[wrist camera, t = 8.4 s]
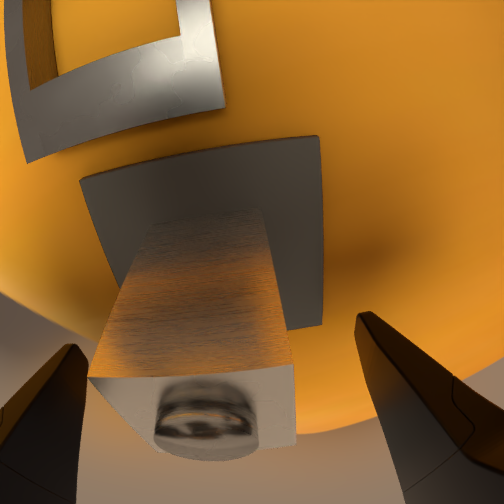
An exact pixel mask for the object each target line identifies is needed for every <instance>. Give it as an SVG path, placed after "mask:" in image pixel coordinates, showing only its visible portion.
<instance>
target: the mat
mask: <svg viewBox="0 0 504 504" xmlns="http://www.w3.org/2000/svg"><path fill="white" fill-rule="evenodd" d="M79 182H80V185H81V188H82V192H83V195H84V198H85V201H86V204H87V207H88V210H89V212H90V215H91V218H92V221H93V224H94V226H95V229H96V232H97V235H98V237H99V240H100V242H101V245H102V248H103V250H104V253H105V255H106V257H107V260H108V262H109V265H110V267H111V269H112V272H113V274H114V276H115V279H116V281H117V283H118V286H119V288H120V289H121V287H122V285H123V282H124V280H125V278H126V276H127V274H128V271H129V269H130V267H131V265H132V263H133V260H134V258H135V256H136V254H137V252H138V250H139V248H140V246H141V244H142V242H143V240H144V238H145V235H146V233H147V231H148V229H149V227H150V225H151V224H154V223H160V222H166V221H172V220H177V219H183V218H189V217H195V216H202V215H208V214H214V213H221V212H227V211H234V210H241V209H248V208H255V207H261V211H262V216H263V220H264V225H265V229H266V234H267V238H268V243H269V248H270V252H271V257H272V262H273V267H274V271H275V276H276V281H277V286H278V290H279V295H280V300H281V305H282V310H283V315H284V320H285V324H286V329H287V330H294V329H300V328H306V327H312V326H318V325H322V312H323V200H322V175H321V156H320V140H319V137H318V136H317V135H312V136H300V137H290V138H280V139H271V140H263V141H255V142H248V143H240V144H234V145H227V146H221V147H215V148H209V149H203V150H197V151H192V152H187V153H181V154H176V155H172V156H167V157H162V158H157V159H153V160H148V161H144V162H140V163H136V164H131V165H127V166H123V167H119V168H116V169H112V170H108V171H104V172H101V173H97V174H94V175H90V176H87V177H83V178H82V179H81V180H79Z"/></svg>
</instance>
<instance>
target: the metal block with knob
mask: <svg viewBox="0 0 504 504" xmlns="http://www.w3.org/2000/svg"><path fill="white" fill-rule="evenodd" d="M87 378H88V379H89V380H90V381H91V383H92V384H93V385H94V386H95V387H96V389H97V390H98V391H99V392H100V393H101V395H102V396H103V397H104V398H105V399H106V400H107V402H108V403H109V404H110V405H111V406H112V407H113V408H114V409H115V410H116V411H117V412H118V414H119V415H120V416H121V417H122V418H123V419H124V420H125V421H126V422H127V423H128V424H129V425H130V426H131V427H132V428H133V429H134V430H135V431H136V432H137V433H138V434H139V435H140V436H141V437H142V438H143V439H144V440H145V441H146V442H147V443H148V444H149V445H150V446H151V447H152V448H153V449H154V450H156V451H157V452H160V453H171V454H173V455H176V456H180V457H183V458H187V459H193V460H201V461H225V460H232V459H238V458H241V457H245V456H247V455H249V454H251V453H253V452H254V451H256V450H260V449H270V448H278V447H285V446H292V445H296V412H295V387H294V366H293V360H292V354H291V349H290V344H289V339H288V334H287V329H286V324H285V320H284V315H283V310H282V305H281V300H280V295H279V290H278V286H277V281H276V276H275V271H274V267H273V262H272V257H271V252H270V248H269V243H268V238H267V234H266V229H265V225H264V220H263V216H262V211H261V207H255V208H248V209H241V210H234V211H227V212H221V213H214V214H208V215H202V216H195V217H189V218H183V219H177V220H172V221H166V222H160V223H154V224H151V225H150V227H149V229H148V231H147V233H146V235H145V238H144V240H143V242H142V244H141V246H140V248H139V250H138V252H137V254H136V256H135V258H134V260H133V263H132V265H131V267H130V269H129V271H128V274H127V276H126V278H125V280H124V282H123V285H122V287H121V289H120V292H119V294H118V296H117V299H116V301H115V303H114V306H113V308H112V311H111V313H110V315H109V318H108V320H107V323H106V325H105V328H104V331H103V333H102V336H101V338H100V341H99V344H98V346H97V349H96V352H95V355H94V357H93V360H92V363H91V366H90V369H89V372H88V375H87Z"/></svg>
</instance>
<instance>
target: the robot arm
mask: <svg viewBox="0 0 504 504" xmlns="http://www.w3.org/2000/svg"><path fill="white" fill-rule="evenodd" d="M354 336H355V341H356V345H357V349H358V353H359V357H360V361H361V365H362V369H363V373H364V377H365V381H366V384H367V387H368V390H369V393H370V395H371V398H372V401H373V404H374V406H375V409H376V412H377V415H378V418H379V420H380V424H381V426H382V429H383V432H384V435H385V438H386V441H387V444H388V447H389V450H390V453H391V457H392V460H393V463H394V466H395V469H396V472H397V475H398V479H399V482H400V485H401V489H402V492H403V496H404V500H405V503H406V504H504V410H503V409H501V408H500V407H498V406H497V405H495V404H493V403H492V402H490V401H489V400H487V399H486V398H484V397H483V396H481V395H480V394H478V393H477V392H475V391H474V390H472V389H471V388H470V387H469V386H467V385H466V384H465V383H463V382H462V381H461V380H460V379H458V378H457V377H456V376H453V374H452V373H451V372H449V371H448V370H447V369H446V368H444V367H443V366H442V365H441V364H439V363H438V362H437V361H435V360H434V359H433V358H432V357H430V356H429V355H428V354H426V353H425V352H424V351H423V350H421V349H420V348H419V347H417V346H416V345H415V344H414V343H412V342H411V341H410V340H408V339H407V338H406V337H404V336H403V335H402V334H401V333H399V332H398V331H397V330H395V329H394V328H393V327H391V326H390V325H389V324H387V323H386V322H385V321H384V320H382V319H381V318H380V317H378V316H377V315H376V314H374V313H373V312H371V311H366V312H361V313H358V314H357V317H356V324H355V331H354ZM88 367H89V364H88V360H87V358H86V356H85V355H84V354H83V352H82V351H81V349H80V348H79V346H78V345H76V344H65V345H64V346H63V347H62V348H61V349H60V350H59V351H58V352H57V353H55V355H53V356H52V357H51V358H50V359H49V360H48V361H47V362H46V363H45V364H44V365H43V366H42V367H41V368H40V369H39V370H38V371H37V372H36V373H35V374H34V375H33V376H32V377H31V378H30V379H29V380H28V381H27V382H26V383H25V384H24V385H23V386H22V387H21V388H20V389H19V390H18V391H17V392H16V393H15V395H13V397H11V398H10V399H9V401H8V402H7V403H6V404H5V405H4V407H2V408H1V409H0V504H76V491H77V473H78V461H79V450H80V441H81V431H82V425H83V417H84V410H85V403H86V388H87V375H88Z"/></svg>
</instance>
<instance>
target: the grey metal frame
mask: <svg viewBox="0 0 504 504" xmlns="http://www.w3.org/2000/svg"><path fill="white" fill-rule="evenodd" d="M176 6H177V13H178V20H179V27H180V34H181V35H180V36H176V37H172V38H167V39H163V40H159V41H156V42H152V43H148V44H145V45H141V46H138V47H135V48H131V49H128V50H125V51H122V52H119V53H116V54H113V55H110V56H107V57H105V58H102V59H99V60H97V61H94V62H91V63H89V64H86V65H84V66H82V67H79V68H77V69H74V70H72V71H70V72H68V73H65V74H63V75H61V76H59V77H58V75H57V68H56V61H55V53H54V45H53V36H52V24H51V9H50V0H4V31H5V48H6V59H7V68H8V76H9V84H10V90H11V96H12V102H13V107H14V112H15V117H16V122H17V127H18V131H19V135H20V139H21V143H22V147H23V151H24V155H25V158H26V162H27V164H28V163H30V162H33V161H35V160H38V159H40V158H43V157H45V156H48V155H50V154H53V153H55V152H58V151H61V150H63V149H66V148H69V147H72V146H74V145H77V144H80V143H83V142H86V141H89V140H92V139H95V138H98V137H101V136H105V135H108V134H111V133H115V132H118V131H122V130H125V129H129V128H132V127H136V126H140V125H144V124H148V123H152V122H156V121H160V120H165V119H169V118H174V117H178V116H183V115H188V114H193V113H198V112H204V111H209V110H215V109H221V108H225V107H226V104H227V102H226V96H225V89H224V83H223V76H222V70H221V63H220V56H219V50H218V43H217V37H216V30H215V23H214V17H213V10H212V3H211V0H176Z"/></svg>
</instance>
